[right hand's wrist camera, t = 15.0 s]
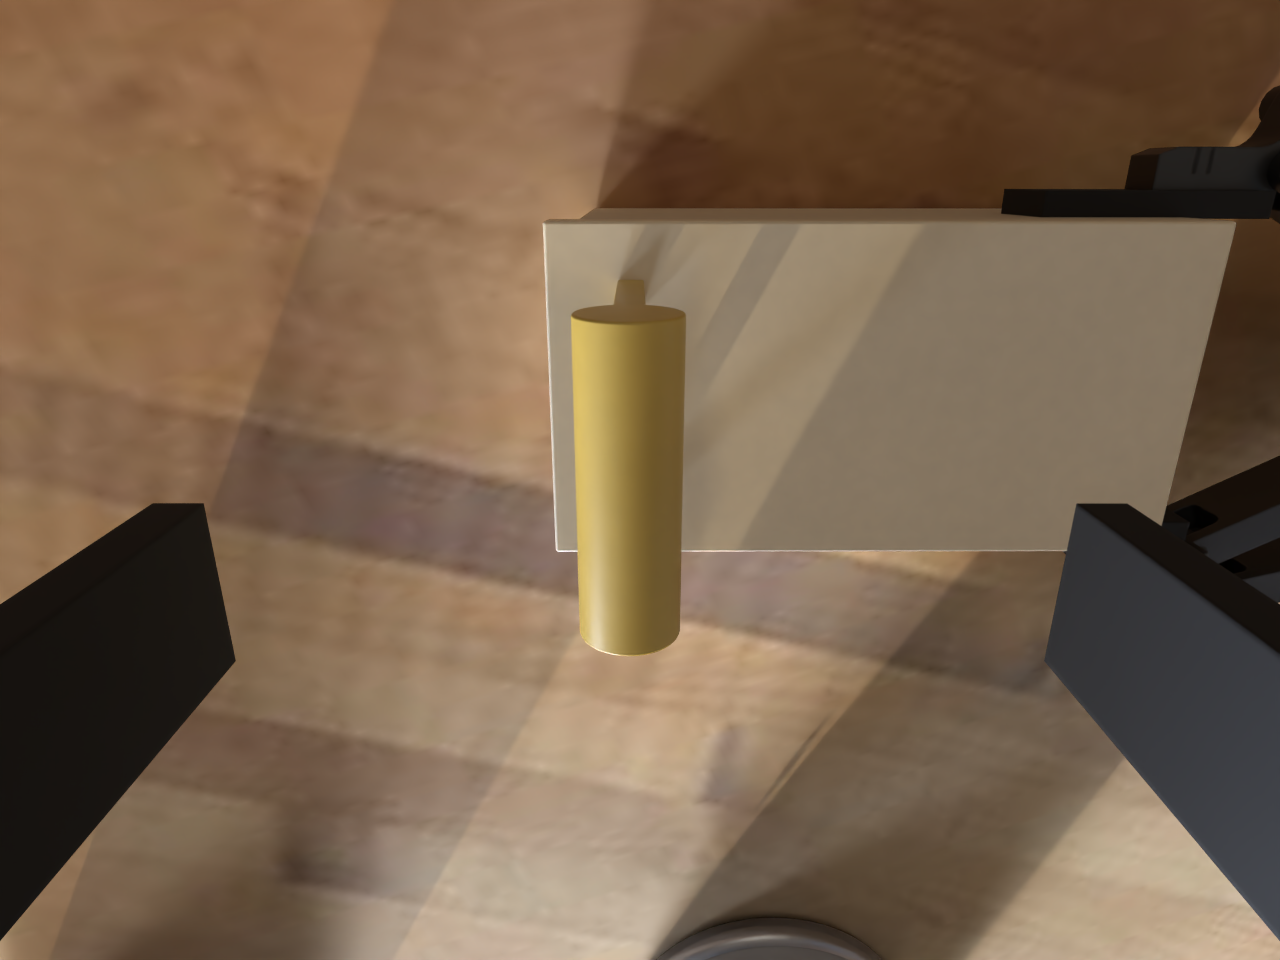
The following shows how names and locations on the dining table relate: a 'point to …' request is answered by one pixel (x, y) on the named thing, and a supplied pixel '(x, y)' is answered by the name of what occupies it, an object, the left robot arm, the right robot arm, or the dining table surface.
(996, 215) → the chest
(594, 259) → the lid
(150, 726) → the right robot arm
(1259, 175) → the left robot arm
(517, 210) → the dining table surface
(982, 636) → the dining table surface
